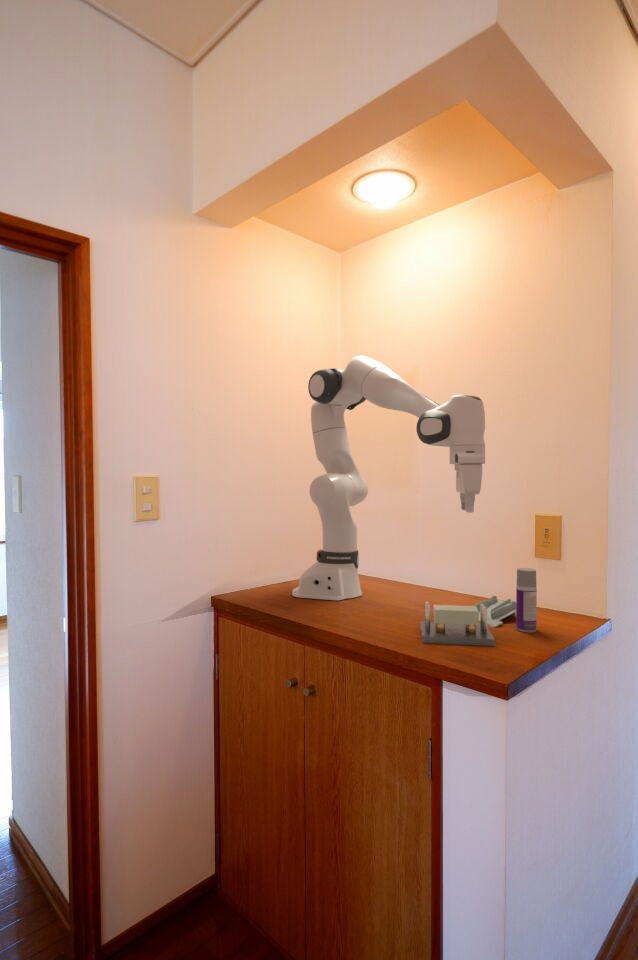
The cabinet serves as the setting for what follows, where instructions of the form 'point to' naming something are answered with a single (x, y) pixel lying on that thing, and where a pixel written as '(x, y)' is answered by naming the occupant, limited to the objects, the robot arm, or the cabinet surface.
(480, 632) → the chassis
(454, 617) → the board
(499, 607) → the metal bracket
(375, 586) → the cabinet surface
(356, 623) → the cabinet surface
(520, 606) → the container
